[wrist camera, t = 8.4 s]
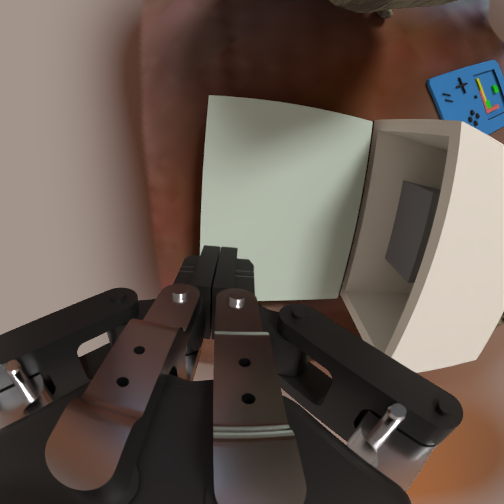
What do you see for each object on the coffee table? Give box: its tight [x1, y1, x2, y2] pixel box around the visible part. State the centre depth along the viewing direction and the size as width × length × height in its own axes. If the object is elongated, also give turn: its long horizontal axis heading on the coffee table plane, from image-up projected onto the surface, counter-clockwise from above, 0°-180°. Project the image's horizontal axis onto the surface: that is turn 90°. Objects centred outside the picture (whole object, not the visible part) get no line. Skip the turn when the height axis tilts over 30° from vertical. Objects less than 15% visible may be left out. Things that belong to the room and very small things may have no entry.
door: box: [200, 95, 373, 301], centre depth 23 cm, size 2×17×14 cm
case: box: [340, 119, 504, 373], centre depth 20 cm, size 12×18×12 cm, turn 175°
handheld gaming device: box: [427, 60, 504, 135], centre depth 19 cm, size 8×1×15 cm
